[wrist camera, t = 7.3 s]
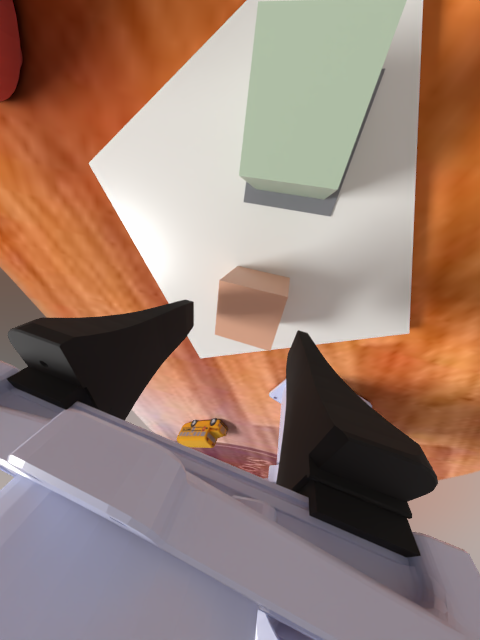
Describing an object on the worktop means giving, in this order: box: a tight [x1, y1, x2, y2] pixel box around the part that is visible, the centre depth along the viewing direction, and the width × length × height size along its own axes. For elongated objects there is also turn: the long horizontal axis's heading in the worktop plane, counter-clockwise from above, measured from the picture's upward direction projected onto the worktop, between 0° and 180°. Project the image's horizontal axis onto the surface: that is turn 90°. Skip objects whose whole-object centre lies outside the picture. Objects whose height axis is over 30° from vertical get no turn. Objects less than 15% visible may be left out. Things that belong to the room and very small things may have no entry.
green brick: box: [239, 0, 407, 200], centre depth 9 cm, size 5×5×4 cm
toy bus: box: [177, 418, 228, 448], centre depth 33 cm, size 3×10×4 cm, turn 121°
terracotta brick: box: [215, 266, 290, 351], centre depth 15 cm, size 5×5×4 cm
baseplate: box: [89, 0, 423, 358], centre depth 15 cm, size 22×22×1 cm
